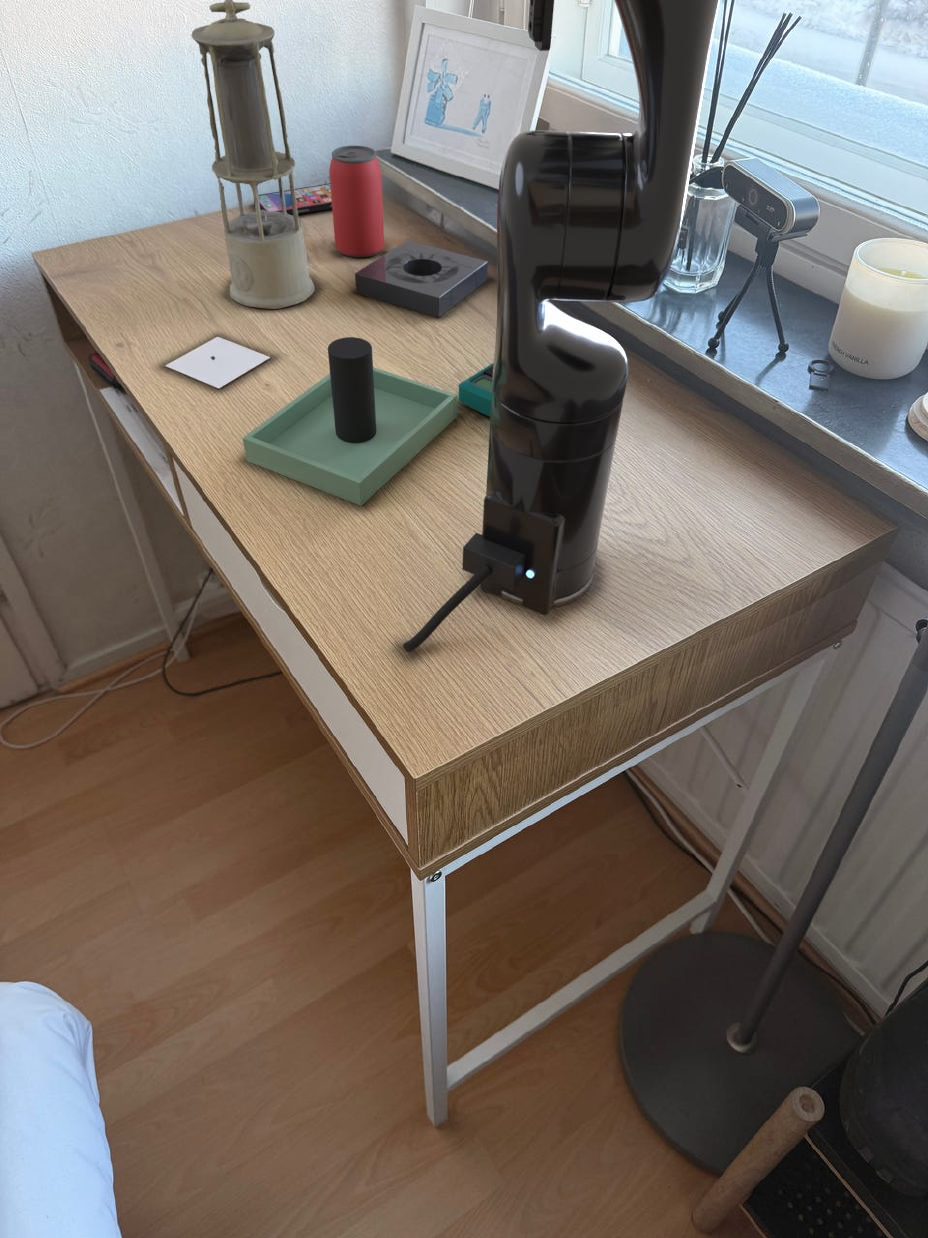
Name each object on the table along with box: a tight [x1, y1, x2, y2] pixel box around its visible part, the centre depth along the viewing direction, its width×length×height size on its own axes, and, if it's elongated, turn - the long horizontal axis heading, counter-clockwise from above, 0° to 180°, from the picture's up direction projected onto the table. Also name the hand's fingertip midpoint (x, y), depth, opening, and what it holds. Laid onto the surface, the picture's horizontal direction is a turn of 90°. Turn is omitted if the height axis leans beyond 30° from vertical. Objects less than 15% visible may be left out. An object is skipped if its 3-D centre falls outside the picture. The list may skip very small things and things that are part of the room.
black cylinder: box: [327, 336, 376, 443], centre depth 82 cm, size 4×4×9 cm
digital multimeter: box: [457, 362, 494, 418], centre depth 92 cm, size 7×15×3 cm, turn 142°
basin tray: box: [242, 366, 458, 507], centre depth 85 cm, size 17×13×3 cm
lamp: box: [191, 0, 316, 310], centre depth 98 cm, size 10×13×30 cm
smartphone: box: [253, 182, 332, 216], centre depth 127 cm, size 7×1×15 cm
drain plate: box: [354, 239, 489, 319], centre depth 108 cm, size 12×12×2 cm
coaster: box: [164, 336, 271, 389], centre depth 95 cm, size 8×8×1 cm
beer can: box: [328, 145, 385, 258], centre depth 112 cm, size 7×7×12 cm
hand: (594, 47), depth 68 cm, fingers open, 8 cm apart
